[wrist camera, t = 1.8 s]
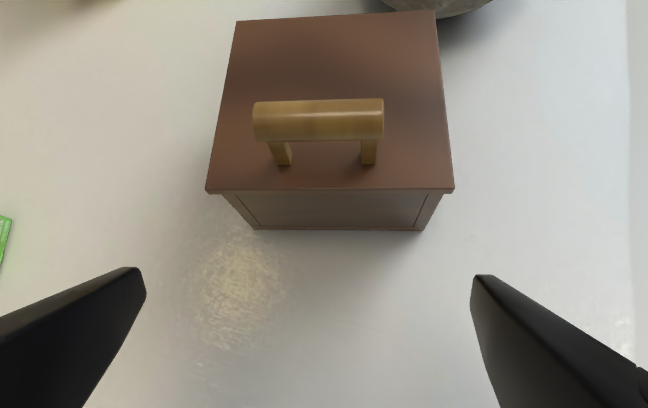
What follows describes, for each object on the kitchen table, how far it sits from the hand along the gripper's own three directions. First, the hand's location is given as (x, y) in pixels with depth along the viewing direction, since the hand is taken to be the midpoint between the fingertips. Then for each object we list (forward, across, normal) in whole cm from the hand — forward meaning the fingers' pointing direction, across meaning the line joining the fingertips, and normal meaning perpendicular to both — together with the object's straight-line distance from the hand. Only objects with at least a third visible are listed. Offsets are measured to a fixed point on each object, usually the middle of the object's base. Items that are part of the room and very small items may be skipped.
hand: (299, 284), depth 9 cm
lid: (+12, 0, -4) cm, 12 cm away
